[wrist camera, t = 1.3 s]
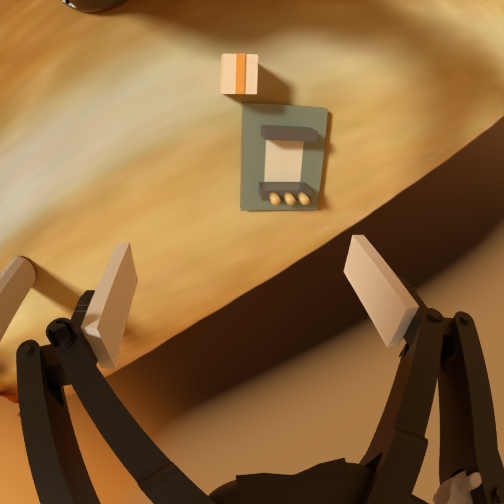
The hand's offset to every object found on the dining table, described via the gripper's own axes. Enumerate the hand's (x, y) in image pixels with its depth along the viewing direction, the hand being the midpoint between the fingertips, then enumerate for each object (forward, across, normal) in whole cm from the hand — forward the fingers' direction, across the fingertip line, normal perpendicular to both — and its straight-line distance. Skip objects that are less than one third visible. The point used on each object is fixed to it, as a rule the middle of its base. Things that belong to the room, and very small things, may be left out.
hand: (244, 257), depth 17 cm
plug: (+28, +1, +11) cm, 30 cm away
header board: (+28, +8, -1) cm, 29 cm away
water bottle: (+28, -42, -20) cm, 55 cm away
